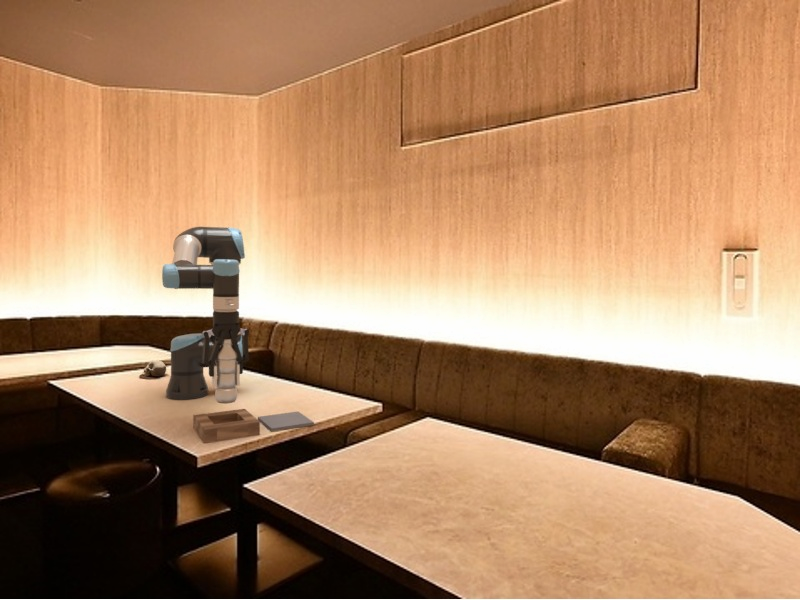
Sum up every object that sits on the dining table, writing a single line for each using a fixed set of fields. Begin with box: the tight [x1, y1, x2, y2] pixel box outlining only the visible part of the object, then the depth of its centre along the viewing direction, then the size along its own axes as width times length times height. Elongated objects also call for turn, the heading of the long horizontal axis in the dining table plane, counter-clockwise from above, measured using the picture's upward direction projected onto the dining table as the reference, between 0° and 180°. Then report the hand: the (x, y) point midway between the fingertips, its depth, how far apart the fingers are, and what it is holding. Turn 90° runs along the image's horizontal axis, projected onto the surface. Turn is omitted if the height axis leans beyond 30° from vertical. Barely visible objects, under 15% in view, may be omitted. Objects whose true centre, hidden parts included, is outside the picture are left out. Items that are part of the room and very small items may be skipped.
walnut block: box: [192, 408, 261, 444], centre depth 163 cm, size 16×16×4 cm
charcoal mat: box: [257, 411, 315, 432], centre depth 173 cm, size 14×14×1 cm
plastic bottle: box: [214, 339, 238, 405], centre depth 162 cm, size 6×7×20 cm
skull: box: [139, 359, 170, 380], centre depth 236 cm, size 12×10×10 cm
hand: (226, 385), depth 162 cm, fingers closed on plastic bottle, 6 cm apart
